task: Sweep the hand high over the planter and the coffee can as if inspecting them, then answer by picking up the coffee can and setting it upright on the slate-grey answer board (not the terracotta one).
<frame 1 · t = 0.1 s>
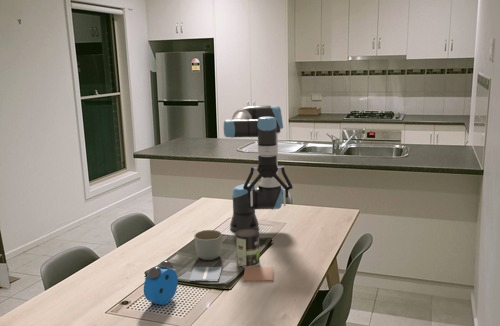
hand: (268, 205, 193), 28 cm above the table, fingers open, 13 cm apart
alarm clock: (162, 302, 173), on the table
pad A: (205, 275, 194), on the table
coffee can: (248, 263, 204), on the table
pad B: (258, 274, 192), on the table
planter: (209, 257, 211), on the table
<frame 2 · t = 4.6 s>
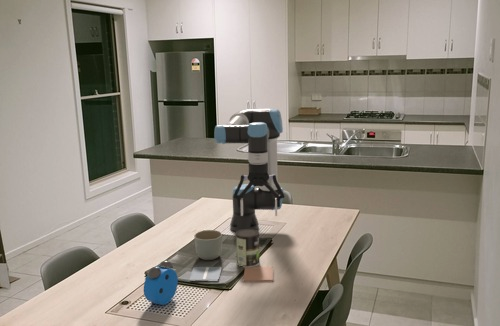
hand: (259, 214, 185), 27 cm above the table, fingers open, 13 cm apart
nothing on the table moved.
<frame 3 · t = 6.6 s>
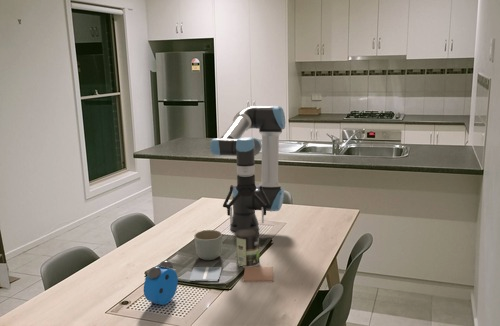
hand: (247, 222, 200), 19 cm above the table, fingers open, 13 cm apart
nothing on the table moved.
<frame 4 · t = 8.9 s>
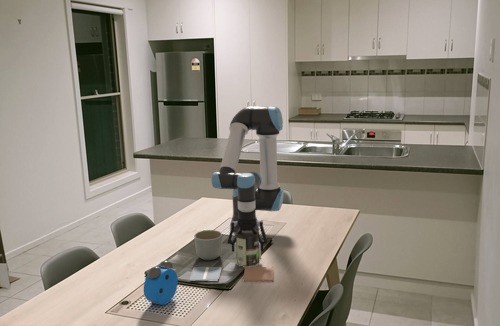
hand: (247, 258, 204), 2 cm above the table, fingers closed on coffee can, 10 cm apart
coffee can: (247, 263, 204), on the table, touching gripper
everything else where it was.
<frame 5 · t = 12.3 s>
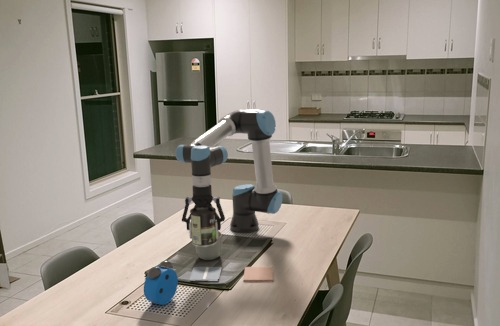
hand: (204, 237, 190), 17 cm above the table, fingers closed on coffee can, 10 cm apart
coffee can: (204, 243, 190), point 14 cm above the table, touching gripper
everything else where it was.
when the fingers open (4 cm above the table, at t = 15.3 s): coffee can drops 1 cm, resting on pad A.
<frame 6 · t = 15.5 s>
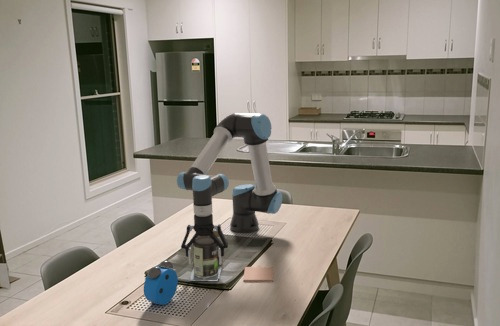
hand: (205, 263, 192), 5 cm above the table, fingers open, 12 cm apart
coffee can: (206, 273, 193), point 1 cm above the table, touching pad A
everything else where it was.
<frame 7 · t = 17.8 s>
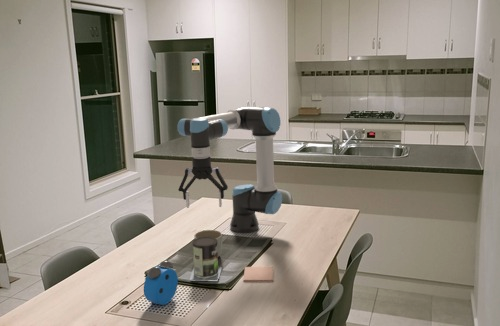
hand: (204, 206, 194), 28 cm above the table, fingers open, 13 cm apart
nothing on the table moved.
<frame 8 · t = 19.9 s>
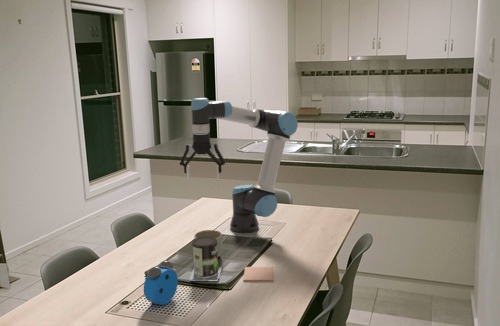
hand: (203, 180, 210), 35 cm above the table, fingers open, 13 cm apart
nothing on the table moved.
at the end: coffee can inside the target area on the pad A (0.1 cm from its centre), point 0.7 cm above the pad A's base; coffee can tilted 1°; the gripper is holding nothing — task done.
